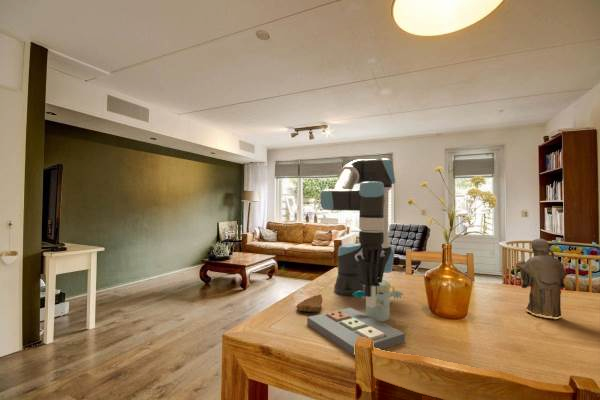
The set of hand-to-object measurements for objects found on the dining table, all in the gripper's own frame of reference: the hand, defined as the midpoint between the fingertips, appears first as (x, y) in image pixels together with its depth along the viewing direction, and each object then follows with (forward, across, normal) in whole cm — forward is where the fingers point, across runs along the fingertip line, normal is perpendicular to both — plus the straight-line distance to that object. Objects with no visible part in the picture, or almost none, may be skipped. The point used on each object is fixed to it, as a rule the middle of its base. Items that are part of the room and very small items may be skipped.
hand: (370, 306), depth 91 cm
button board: (+11, 0, -8) cm, 14 cm away
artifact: (+12, +2, -33) cm, 35 cm away
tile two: (+11, 0, -8) cm, 13 cm away
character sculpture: (+12, -17, -13) cm, 24 cm away
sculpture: (+12, -77, +16) cm, 79 cm away
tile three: (+11, 0, -16) cm, 19 cm away
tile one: (+11, 0, 0) cm, 11 cm away
